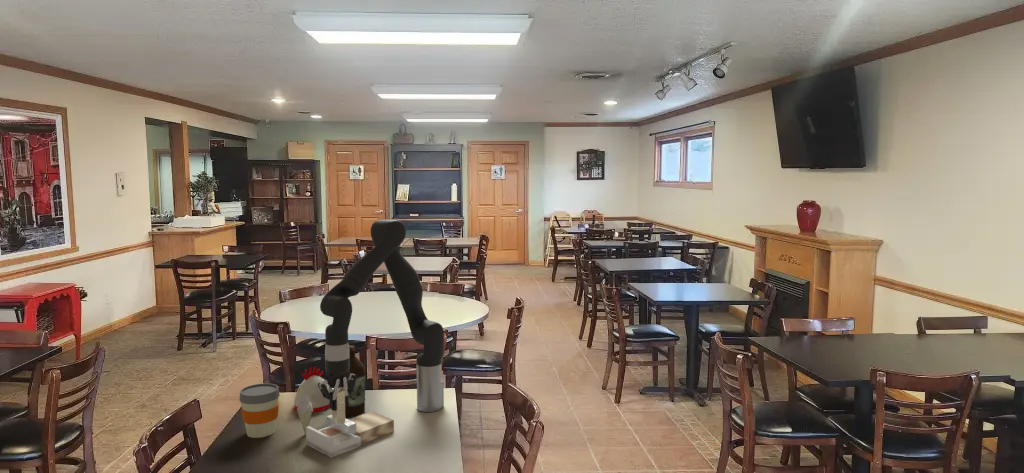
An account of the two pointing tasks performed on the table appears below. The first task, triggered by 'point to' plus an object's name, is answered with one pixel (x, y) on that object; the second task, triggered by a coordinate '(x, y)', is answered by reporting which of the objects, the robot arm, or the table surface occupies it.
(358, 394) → the brown rum bottle
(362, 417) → the tan flat block
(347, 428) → the scraper
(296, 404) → the kitchen timer
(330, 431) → the terracotta tile
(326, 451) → the box
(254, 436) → the reusable coffee cup
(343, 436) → the offwhite tile
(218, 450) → the table surface
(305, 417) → the ice cream cone
